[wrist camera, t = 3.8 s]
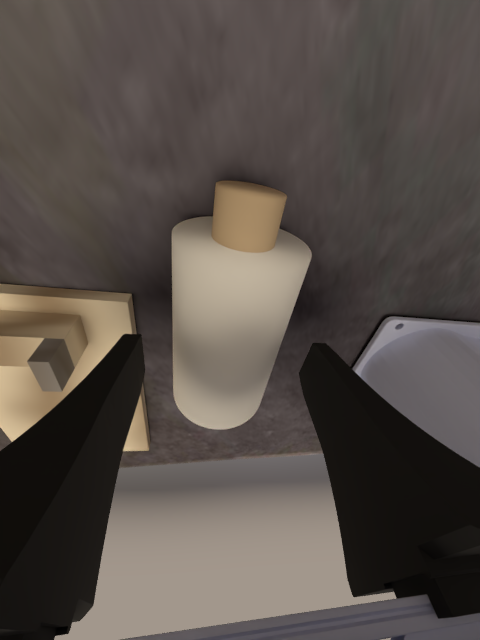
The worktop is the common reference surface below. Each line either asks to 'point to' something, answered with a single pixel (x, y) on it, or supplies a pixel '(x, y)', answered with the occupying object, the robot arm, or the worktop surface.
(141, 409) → the cradle
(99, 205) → the worktop surface
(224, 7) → the worktop surface
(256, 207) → the white cylinder with cap
